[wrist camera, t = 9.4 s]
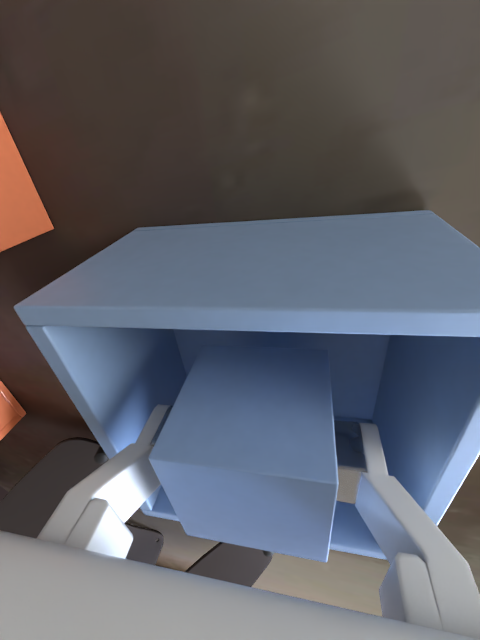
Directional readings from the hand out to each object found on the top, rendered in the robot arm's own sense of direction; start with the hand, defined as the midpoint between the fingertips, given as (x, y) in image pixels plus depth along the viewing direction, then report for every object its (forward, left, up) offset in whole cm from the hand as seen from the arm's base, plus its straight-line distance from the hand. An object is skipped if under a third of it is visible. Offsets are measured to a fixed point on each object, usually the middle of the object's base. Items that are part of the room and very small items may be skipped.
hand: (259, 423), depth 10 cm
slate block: (0, 0, -2) cm, 2 cm away
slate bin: (0, 0, -5) cm, 5 cm away
